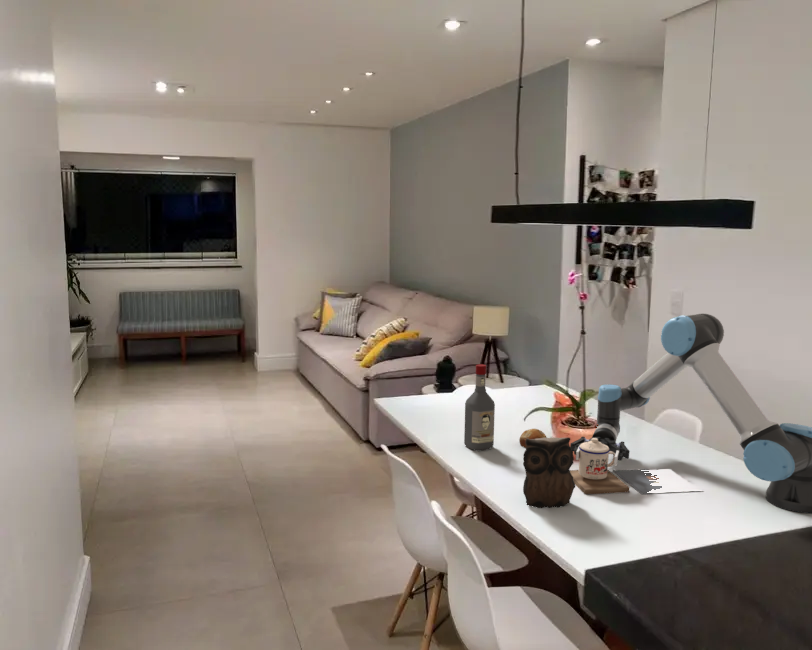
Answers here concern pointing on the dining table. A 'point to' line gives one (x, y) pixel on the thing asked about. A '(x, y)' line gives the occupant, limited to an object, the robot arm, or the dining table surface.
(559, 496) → the owl
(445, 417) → the dining table surface
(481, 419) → the liquor
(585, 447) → the teacup with lid
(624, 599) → the dining table surface
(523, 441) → the bread roll
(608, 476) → the walnut board
